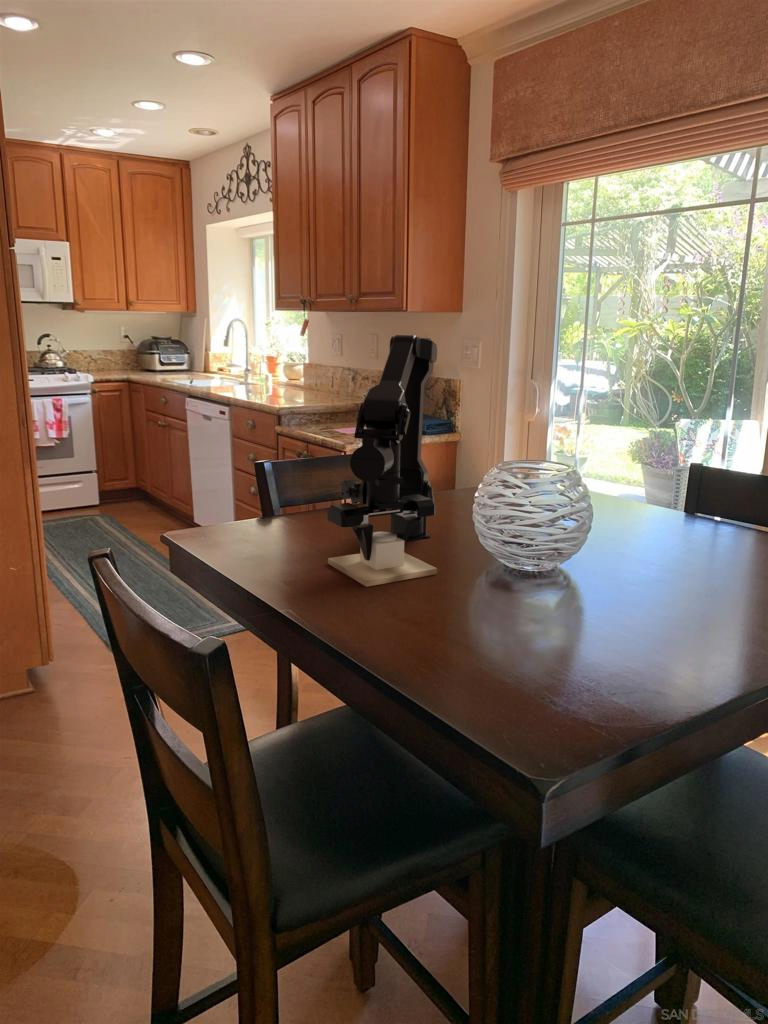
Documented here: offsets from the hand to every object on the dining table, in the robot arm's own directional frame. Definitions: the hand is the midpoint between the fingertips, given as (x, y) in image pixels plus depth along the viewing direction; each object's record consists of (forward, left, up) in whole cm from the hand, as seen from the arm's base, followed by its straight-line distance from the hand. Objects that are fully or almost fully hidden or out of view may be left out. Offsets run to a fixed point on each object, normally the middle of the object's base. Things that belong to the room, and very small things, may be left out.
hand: (381, 557), depth 132 cm
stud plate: (0, 0, -2) cm, 2 cm away
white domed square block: (0, 0, -1) cm, 1 cm away
